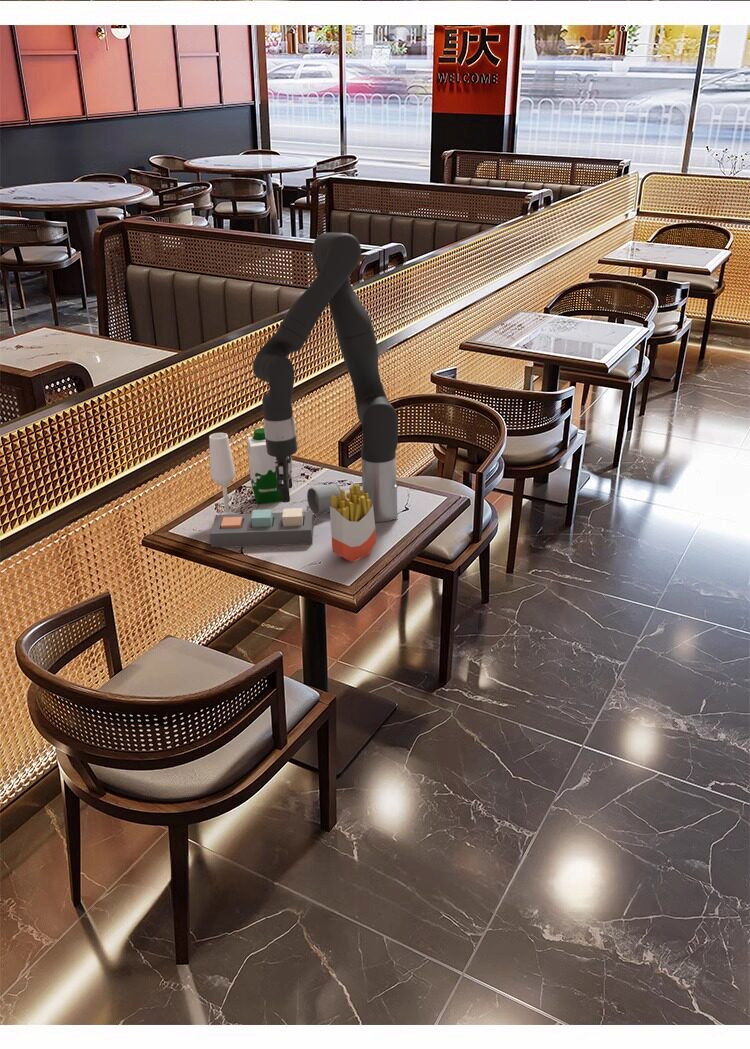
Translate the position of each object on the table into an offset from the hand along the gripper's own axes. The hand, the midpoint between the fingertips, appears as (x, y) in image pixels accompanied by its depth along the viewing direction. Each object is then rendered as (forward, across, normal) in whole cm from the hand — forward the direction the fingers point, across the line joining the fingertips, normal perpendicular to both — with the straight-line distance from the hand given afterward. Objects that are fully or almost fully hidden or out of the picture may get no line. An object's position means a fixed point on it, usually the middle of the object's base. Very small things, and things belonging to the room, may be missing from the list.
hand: (286, 494), depth 217 cm
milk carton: (+14, +28, +9) cm, 33 cm away
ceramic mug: (+14, +20, -7) cm, 25 cm away
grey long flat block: (+13, +4, +8) cm, 16 cm away
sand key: (+10, +4, 0) cm, 11 cm away
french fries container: (+14, -9, -16) cm, 23 cm away
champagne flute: (+13, +16, +19) cm, 28 cm away
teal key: (+10, +4, +8) cm, 13 cm away
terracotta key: (+12, +4, +16) cm, 20 cm away
